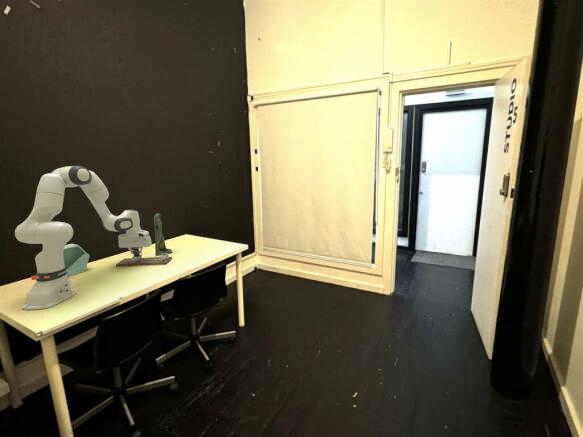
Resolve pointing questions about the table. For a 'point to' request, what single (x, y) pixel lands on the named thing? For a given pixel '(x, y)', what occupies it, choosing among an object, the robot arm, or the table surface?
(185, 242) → the table surface
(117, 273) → the table surface
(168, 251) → the statue
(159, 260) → the plate
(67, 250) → the planter
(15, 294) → the table surface
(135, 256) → the divider leg
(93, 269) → the table surface
